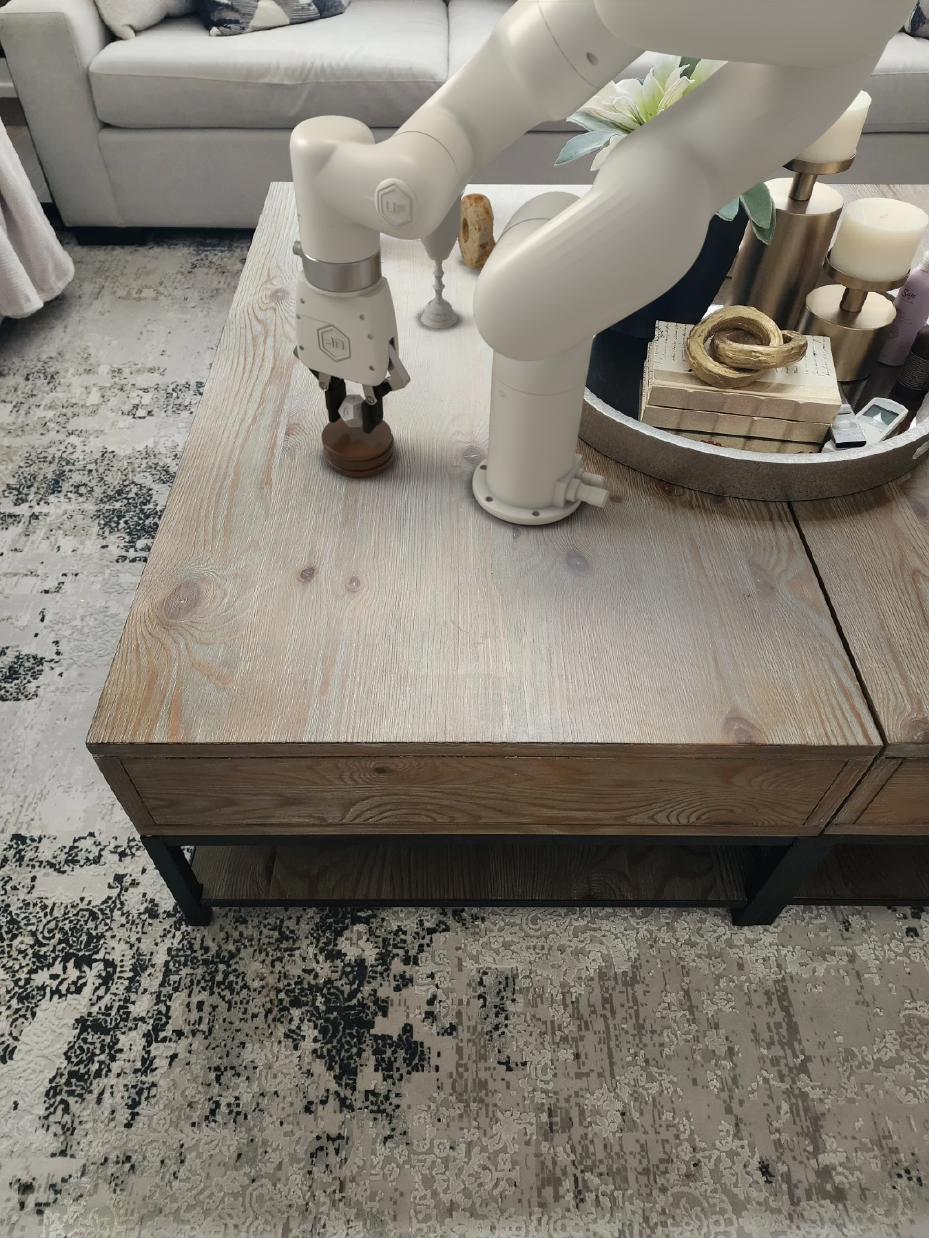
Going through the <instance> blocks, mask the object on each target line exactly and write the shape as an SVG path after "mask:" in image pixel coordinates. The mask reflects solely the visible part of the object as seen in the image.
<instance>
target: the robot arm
mask: <svg viewBox="0 0 929 1238" xmlns="http://www.w3.org/2000/svg"><path fill="white" fill-rule="evenodd" d="M918 2H919V0H516V1H515V3H514V4H513V5H511V6H510V8H509V9H508V10H507V11H505V13H504V14H503V15H502V16H501V17H500V19H498V21H497V22H496V23H495V25H494V26H493V28H492V30H491V32H490V34H489V36H488V37H487V39H486V40H485V41H484V42H483V43H482V44H481V46H480V47H479V48H478V49H477V50H476V51H475V52H474V53H473V54H472V55H471V56H470V57H469V58H468V59H467V60H466V61H465V62H464V63H463V64H462V65H460V67H459V68H458V69H457V70H456V71H455V72H454V73H453V74H452V75H451V76H450V77H449V78H448V79H447V80H446V81H445V82H444V83H443V84H442V85H441V86H440V87H439V88H438V89H437V90H436V91H435V92H434V93H433V94H432V95H431V96H430V97H429V98H427V100H426V101H425V102H424V103H423V104H422V105H421V106H420V107H419V108H418V109H417V110H416V111H415V112H414V113H413V114H412V115H410V117H409V118H408V119H407V120H406V121H405V122H404V123H403V124H402V125H401V126H399V128H398V129H397V130H396V131H395V133H393V135H392V136H391V137H390V138H387V139H385V140H383V141H381V142H378V143H376V140H375V137H374V135H373V132H372V130H371V129H370V128H369V127H368V125H366V124H365V123H364V122H362V121H361V120H358V119H356V118H353V117H349V116H343V115H332V114H331V115H320V116H315V117H311V118H307V119H305V120H303V121H301V122H299V123H298V124H297V125H296V126H295V127H294V129H293V130H292V132H291V134H290V138H289V155H290V156H289V157H290V165H291V173H292V182H293V191H294V199H295V207H296V215H297V224H298V231H299V240H295V241H293V243H292V248H291V249H292V253H293V255H295V256H298V257H299V258H301V263H302V270H300V271H299V272H298V273H297V277H296V285H295V297H294V298H295V299H294V326H295V341H296V345H295V347H294V348H293V350H292V354H293V356H294V357H295V358H296V359H297V360H299V361H300V363H301V364H302V365H304V366H305V367H307V369H308V371H309V372H310V373H311V375H313V377H314V378H315V379H316V380H317V381H318V388H319V389H320V390H321V391H323V392H324V400H325V408H326V410H327V416H328V417H327V418H328V423H329V422H332V423H335V422H337V421H338V420H339V419H340V418H341V415H340V414H339V412H338V410H339V408H340V407H341V405H342V403H343V401H344V400H345V398H346V397H347V395H348V393H347V384H346V382H345V381H350V382H353V383H357V384H360V385H361V386H362V390H363V395H364V401H363V402H362V404H361V409H362V422H363V431H364V432H365V433H367V434H370V433H371V432H372V431H373V430H374V428H375V427H376V426H377V425H379V424H380V423H381V422H382V420H384V399H383V398H384V397H386V396H387V395H388V394H390V393H391V392H396V391H399V390H402V389H405V388H406V387H407V385H408V384H409V383H410V382H411V379H412V378H411V377H410V374H409V373H408V371H407V369H406V367H405V365H404V363H403V362H402V361H401V358H400V347H399V345H400V344H399V333H398V325H397V317H396V310H395V306H394V300H393V295H392V292H391V287H390V285H389V281H388V278H387V277H385V276H384V275H383V270H382V250H381V249H382V248H381V234H383V235H386V236H389V237H391V238H395V239H398V240H399V239H400V240H405V241H416V240H421V238H424V237H426V236H428V235H429V234H431V233H432V232H433V231H434V230H435V229H436V228H437V227H438V226H439V225H440V223H441V222H442V221H443V219H444V218H445V216H446V215H447V213H448V212H449V210H450V209H451V207H452V206H453V204H454V202H455V201H456V200H457V198H458V197H459V195H460V194H461V192H462V191H463V190H464V188H465V189H466V187H467V186H468V184H469V183H471V181H472V180H473V179H474V178H475V177H476V176H477V175H479V173H480V172H482V170H484V169H485V168H486V167H487V166H488V165H489V164H491V163H492V162H493V161H494V160H495V159H496V158H497V157H498V156H499V155H500V154H502V153H503V152H504V151H505V150H506V149H507V148H509V147H510V146H511V145H513V144H514V143H515V142H516V141H517V140H518V139H519V138H521V137H522V136H523V135H525V134H526V133H528V132H529V131H530V130H531V129H533V128H534V127H536V126H538V125H540V124H542V123H545V122H560V121H562V120H565V119H567V118H568V117H570V116H572V115H573V114H575V113H576V112H577V111H579V109H581V108H582V107H583V106H584V105H585V104H586V103H588V102H589V101H590V100H591V99H592V98H593V97H594V96H596V95H597V94H598V93H599V92H601V90H602V89H604V88H605V87H606V86H607V85H608V84H609V83H610V82H611V81H613V80H614V79H615V78H616V77H617V76H619V75H620V74H621V73H622V72H624V71H625V70H626V69H627V68H628V67H630V66H631V65H632V64H633V63H634V62H635V61H636V60H637V59H639V58H640V57H641V56H642V55H643V54H644V53H646V52H650V53H651V52H652V53H658V54H663V55H668V56H675V57H684V58H692V59H700V60H711V61H723V62H726V63H724V64H723V65H722V66H720V67H719V68H718V69H717V70H716V71H715V72H714V73H712V74H711V75H710V76H709V77H707V78H706V79H705V80H704V81H701V82H700V83H699V84H698V85H696V86H695V87H693V89H691V90H690V91H689V92H687V93H686V94H684V95H683V96H682V97H680V98H679V99H678V100H676V101H675V102H673V103H672V104H670V105H669V106H668V107H666V108H665V109H664V110H662V111H661V112H659V113H658V114H657V115H655V116H654V117H652V118H650V119H649V120H648V121H646V122H644V123H643V124H642V125H641V126H638V127H637V128H636V129H634V130H632V131H631V132H629V133H628V134H627V135H625V136H624V137H622V138H621V139H620V140H619V141H618V142H617V143H616V144H615V145H614V146H613V147H612V148H611V150H610V151H609V152H608V154H607V156H606V157H605V159H604V161H603V162H602V164H601V167H600V168H599V170H598V172H597V174H596V177H595V178H594V181H593V183H592V185H591V188H590V189H589V190H588V191H587V192H585V194H583V195H582V196H578V195H576V194H573V193H571V192H566V191H557V190H556V191H555V190H554V191H548V192H543V193H541V194H538V195H536V196H534V197H532V198H530V199H528V200H527V201H526V202H525V203H524V204H522V205H521V206H520V207H519V208H518V209H517V210H516V211H515V212H514V214H513V215H512V216H511V217H510V218H509V220H508V222H507V223H506V225H505V226H504V228H503V230H502V232H501V234H500V235H499V237H498V239H497V240H496V241H495V242H496V244H495V246H494V248H493V251H492V252H491V254H490V256H489V258H488V259H487V261H486V263H485V265H484V267H483V269H481V271H480V274H479V275H478V278H477V280H476V282H475V286H474V290H473V295H472V313H473V319H474V323H475V326H476V329H477V331H478V334H479V335H480V337H481V339H482V340H483V341H484V343H485V344H487V345H488V347H489V348H490V349H492V365H491V379H490V380H491V381H490V402H489V403H490V404H489V421H488V422H489V424H488V444H487V456H486V457H485V458H483V460H481V461H480V463H478V464H477V466H476V468H475V469H474V472H473V475H472V483H471V484H472V485H471V487H472V492H473V495H474V498H475V500H476V501H477V503H478V504H479V505H480V506H481V507H482V508H483V510H485V511H486V512H487V513H489V514H491V515H492V516H494V517H496V518H497V519H500V520H502V521H505V522H509V523H513V524H517V525H526V526H540V525H547V524H551V523H554V522H558V521H560V520H562V519H564V518H566V517H568V516H570V515H571V514H572V513H574V512H575V511H576V510H577V508H578V507H579V506H580V504H581V503H582V502H585V503H587V504H588V505H592V506H595V507H598V508H601V509H604V508H605V506H606V504H607V501H608V498H609V490H608V489H604V488H602V487H603V485H604V482H605V476H603V475H600V474H597V473H591V472H587V471H586V469H585V468H583V467H582V462H583V454H580V453H578V452H577V446H578V441H579V440H578V439H579V433H580V426H581V425H580V424H581V420H582V419H581V418H582V413H583V412H582V411H583V405H584V398H585V391H586V386H587V377H588V373H589V368H590V367H589V366H590V361H591V353H592V347H593V341H594V336H596V335H597V334H600V333H602V332H603V331H605V330H606V329H608V328H610V327H611V326H613V325H615V324H617V323H619V322H620V321H622V320H623V319H625V318H627V317H629V316H630V315H632V314H633V313H636V312H637V311H639V310H640V309H642V308H643V307H645V306H647V305H649V304H650V303H652V302H653V301H655V300H657V299H658V298H660V297H661V296H662V295H664V294H666V292H668V291H669V290H670V289H672V288H673V287H674V286H675V285H676V284H677V283H678V282H679V281H681V280H682V278H683V277H684V276H685V275H686V274H687V273H688V271H689V270H690V269H691V268H692V266H693V265H694V264H695V262H696V260H697V259H698V257H699V255H700V253H701V251H702V249H703V247H704V244H705V240H706V237H707V235H708V230H709V225H710V221H711V220H712V219H713V217H714V216H715V215H716V214H717V213H718V212H719V211H721V210H722V209H723V208H725V207H726V206H727V205H729V204H730V203H731V202H733V201H734V200H736V199H737V198H739V197H740V196H742V195H743V194H745V193H746V192H747V191H750V190H751V189H752V188H753V187H756V186H757V185H758V184H760V183H761V182H762V181H764V180H765V179H767V178H768V177H769V176H771V175H772V174H773V173H775V172H776V171H778V170H779V169H781V168H782V167H783V166H785V165H787V164H788V163H789V162H791V161H792V160H794V159H796V157H798V156H799V155H801V154H802V153H803V152H804V151H806V150H807V149H808V148H809V147H811V146H812V145H813V144H815V143H816V142H817V141H818V140H819V139H820V138H821V137H822V136H824V135H825V133H827V132H828V131H829V130H830V129H831V128H832V127H833V126H834V125H835V124H836V123H837V122H838V121H839V119H840V118H841V117H842V116H843V115H844V114H845V112H847V110H848V109H849V108H850V106H851V105H852V104H853V103H854V101H855V100H856V98H857V97H858V96H859V94H860V93H861V91H862V90H863V88H864V87H865V85H866V84H867V83H868V80H869V79H870V77H871V76H872V74H873V73H874V71H875V69H876V68H877V65H878V64H879V62H880V60H881V58H882V56H883V54H884V52H885V50H886V48H887V46H888V43H889V42H890V41H891V40H892V39H893V38H894V37H895V36H896V34H898V32H899V31H900V30H901V29H902V28H903V27H904V26H905V24H906V23H907V21H908V20H909V18H910V16H911V15H912V13H913V12H914V10H915V8H916V7H917V4H918ZM388 373H389V376H387V374H388Z"/></svg>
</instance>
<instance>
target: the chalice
mask: <svg viewBox="0 0 929 1238" xmlns="http://www.w3.org/2000/svg"><path fill="white" fill-rule="evenodd" d="M465 191H466V187H465V188H464V190H463V191H462V192H461V194H460V195H459V197H458V198H457V200H456V201H455V202H454V204H453V206H452V207H451V209H450V210H449V212H448V213H447V215H446V216H445V218H444V219H443V221H442V222H441V223H440V225H439V226H438V227H437V228H436V229H435V230H434V231H433V232H432V233H431V234H429V235H428V236H426V237H424V238H421V239H420V242H421V244H422V246H423V248H424V250H425V252H426V254H427V257H428V258H429V259H430V260H432V261H434V264H435V265H434V269H433V271H432V274H433V277H434V283H433V284H432V285H431V286H432V288H433V289H434V292H435V295H434V298H432V299H431V300H429V301H428V303H426V305H425V308H424V309H423V313H422V315H421V318H420V321H421V323H422V324H423V325H425V326H427V327H428V328H432V329H446V328H449V327H451V326H453V325H455V324H456V323H457V319H458V318H457V315H456V314H455V311H454V309H453V306H452V304H451V303H450V302H449V301H448V299H447V300H446V299H445V298H443V290H444V289H445V288H446V285H445V284H444V283H443V277H444V275H445V271H444V270H443V269H444V268H443V261H446V260H448V258H449V257H450V255H451V253H452V251H453V250H454V247H455V245H456V243H457V241H458V234H459V231H460V228H461V200H462V198H463V195H464V194H465Z"/></svg>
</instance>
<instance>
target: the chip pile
mask: <svg viewBox="0 0 929 1238" xmlns="http://www.w3.org/2000/svg"><path fill="white" fill-rule="evenodd" d="M321 431H322V432H321V443H322V447H323V454H324V455H325V461H326V463H327V465H328V467H329V468H330V469H331V470H332V471H333V472H335V473H337V474H338V475H341V476H344V477H348V478H357V479H359V478H361V479H362V478H369V477H372V476H376V475H379V474H380V473H383V472H384V471H386V470H387V469H388V468H389V467H390V466H391V465H392V463H393V461H394V458H395V437H394V435H393V432H392V429H391V426H390V425H389V424H388V422H386V421H385V420H384V419H383V420H382V422H381V423H380V424H379V425H377V426H376V427H375V428H374V430H373V431H372V432H371V433H370V434H367V433H365V432H364V431H363V424H362V426H361V427H349V426H348V425H347V424H346V423H345V422H344V420H343V419H342V417H341V418H340V419H339V420H338V421H337V422H335V423H332V422H329V421H328V423H327V424H326V425H325V426H324V428H323V429H322V430H321Z"/></svg>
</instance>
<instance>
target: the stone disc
mask: <svg viewBox="0 0 929 1238" xmlns="http://www.w3.org/2000/svg"><path fill="white" fill-rule="evenodd" d="M494 221H495V216H494V211H493V207H492V203H491V200H490V198H488V197H487V196H486V195H485V194H482V193H475V192H474V193H469V194H466V195H464V196H462V197H461V228H460V231H459V234H458V237H457V244H458V248H459V250H460V254H461V258H462V261H463V263H464V264H465V266H467V267H468V268H469V269H472V270H482V269H483V267H484V265H485V263H486V261H487V259H488V258H489V256H490V254H491V252H492V251H493V248H494V246H495V244H496V242H497V241H496V239H495V237H494V225H495V224H494Z"/></svg>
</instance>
